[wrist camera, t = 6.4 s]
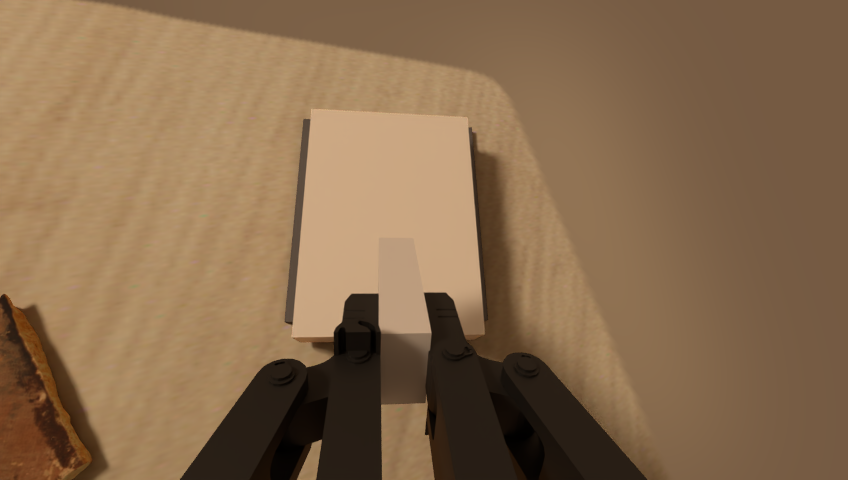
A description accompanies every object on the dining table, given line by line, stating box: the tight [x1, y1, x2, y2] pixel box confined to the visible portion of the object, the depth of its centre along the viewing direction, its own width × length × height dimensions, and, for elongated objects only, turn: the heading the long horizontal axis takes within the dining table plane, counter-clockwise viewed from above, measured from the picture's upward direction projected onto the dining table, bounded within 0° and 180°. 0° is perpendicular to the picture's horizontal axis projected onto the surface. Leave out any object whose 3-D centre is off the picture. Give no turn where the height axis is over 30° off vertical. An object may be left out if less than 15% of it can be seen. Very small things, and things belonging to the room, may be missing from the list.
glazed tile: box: [292, 109, 485, 342], centre depth 24 cm, size 10×3×14 cm
